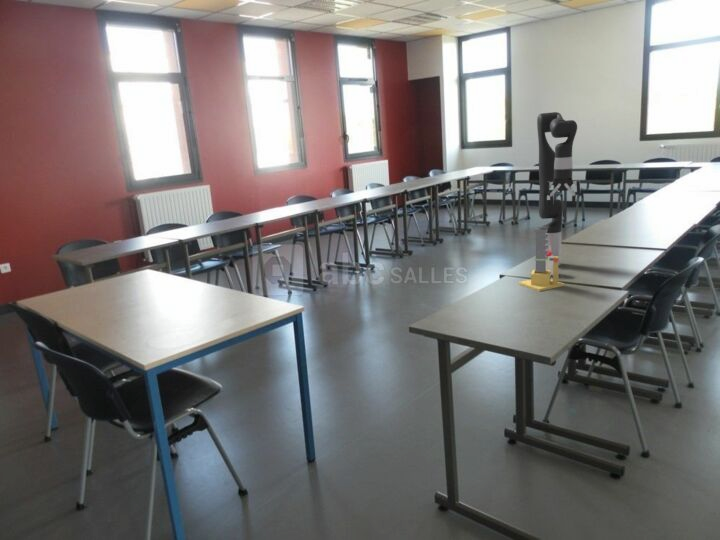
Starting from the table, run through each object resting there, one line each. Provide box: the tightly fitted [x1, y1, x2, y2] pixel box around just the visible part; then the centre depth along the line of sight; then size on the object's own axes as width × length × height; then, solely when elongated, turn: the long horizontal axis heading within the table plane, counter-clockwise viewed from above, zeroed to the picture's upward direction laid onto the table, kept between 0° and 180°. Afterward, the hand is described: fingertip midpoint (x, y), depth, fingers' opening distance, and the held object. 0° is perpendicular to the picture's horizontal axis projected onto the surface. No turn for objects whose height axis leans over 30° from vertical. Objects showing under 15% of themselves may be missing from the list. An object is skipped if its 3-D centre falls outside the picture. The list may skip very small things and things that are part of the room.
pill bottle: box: [546, 251, 554, 276], centre depth 255 cm, size 8×8×11 cm
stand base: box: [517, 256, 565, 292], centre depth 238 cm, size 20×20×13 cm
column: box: [534, 227, 548, 272], centre depth 235 cm, size 6×5×19 cm
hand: (562, 204), depth 237 cm, fingers open, 8 cm apart
